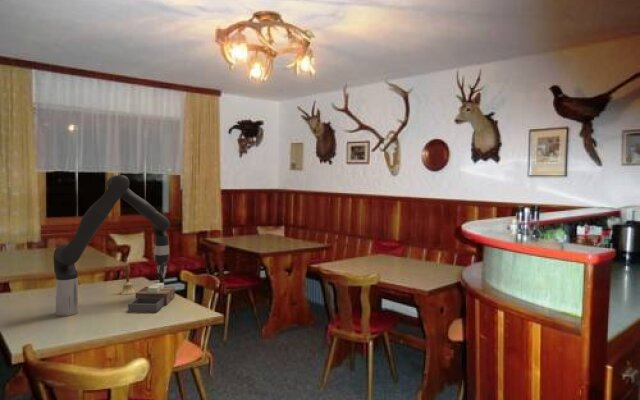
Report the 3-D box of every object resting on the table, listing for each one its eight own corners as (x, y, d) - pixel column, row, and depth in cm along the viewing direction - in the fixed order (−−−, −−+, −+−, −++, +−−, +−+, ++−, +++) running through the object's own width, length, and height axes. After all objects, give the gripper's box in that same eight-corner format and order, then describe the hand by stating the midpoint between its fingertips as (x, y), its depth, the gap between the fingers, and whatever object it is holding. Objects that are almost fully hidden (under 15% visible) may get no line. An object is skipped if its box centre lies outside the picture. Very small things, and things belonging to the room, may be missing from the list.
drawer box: (166, 305, 237) (166, 293, 237) (135, 304, 237) (135, 293, 236) (174, 297, 251) (174, 287, 251) (145, 297, 251) (145, 286, 250)
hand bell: (132, 295, 255) (131, 266, 254) (117, 294, 255) (117, 266, 254) (138, 291, 264) (138, 263, 263) (123, 290, 264) (123, 263, 263)
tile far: (161, 289, 245) (160, 285, 245) (151, 289, 245) (151, 285, 244) (163, 287, 250) (163, 282, 250) (154, 287, 250) (154, 282, 249)
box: (156, 312, 225) (156, 304, 225) (128, 312, 225) (128, 304, 224) (164, 305, 237) (164, 297, 237) (137, 305, 237) (137, 297, 236)
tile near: (157, 292, 239) (157, 288, 239) (147, 292, 239) (147, 287, 238) (160, 290, 244) (160, 285, 244) (150, 290, 244) (150, 285, 243)
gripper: (158, 251, 260) (158, 281, 261) (150, 255, 247) (150, 287, 248) (172, 251, 260) (172, 281, 261) (164, 255, 247) (164, 287, 248)
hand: (161, 284), depth 254 cm, fingers closed
